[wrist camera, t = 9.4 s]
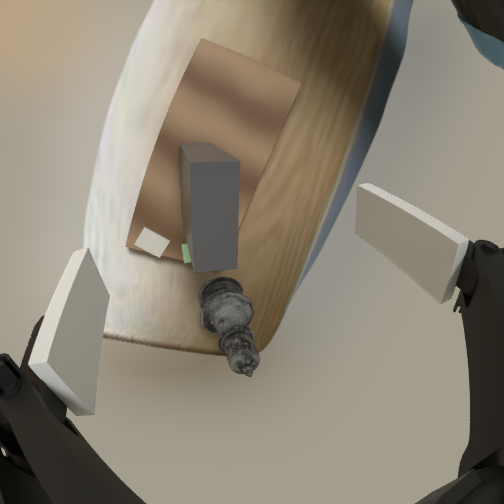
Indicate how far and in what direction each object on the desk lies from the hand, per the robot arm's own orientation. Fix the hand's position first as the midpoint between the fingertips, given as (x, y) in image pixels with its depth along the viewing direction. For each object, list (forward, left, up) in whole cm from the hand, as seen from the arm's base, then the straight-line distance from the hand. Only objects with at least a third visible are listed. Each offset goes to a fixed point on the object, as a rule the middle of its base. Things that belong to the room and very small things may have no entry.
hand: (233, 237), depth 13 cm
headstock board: (-2, 0, -15) cm, 15 cm away
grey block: (+1, +2, -13) cm, 13 cm away
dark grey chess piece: (+6, +13, -15) cm, 21 cm away
